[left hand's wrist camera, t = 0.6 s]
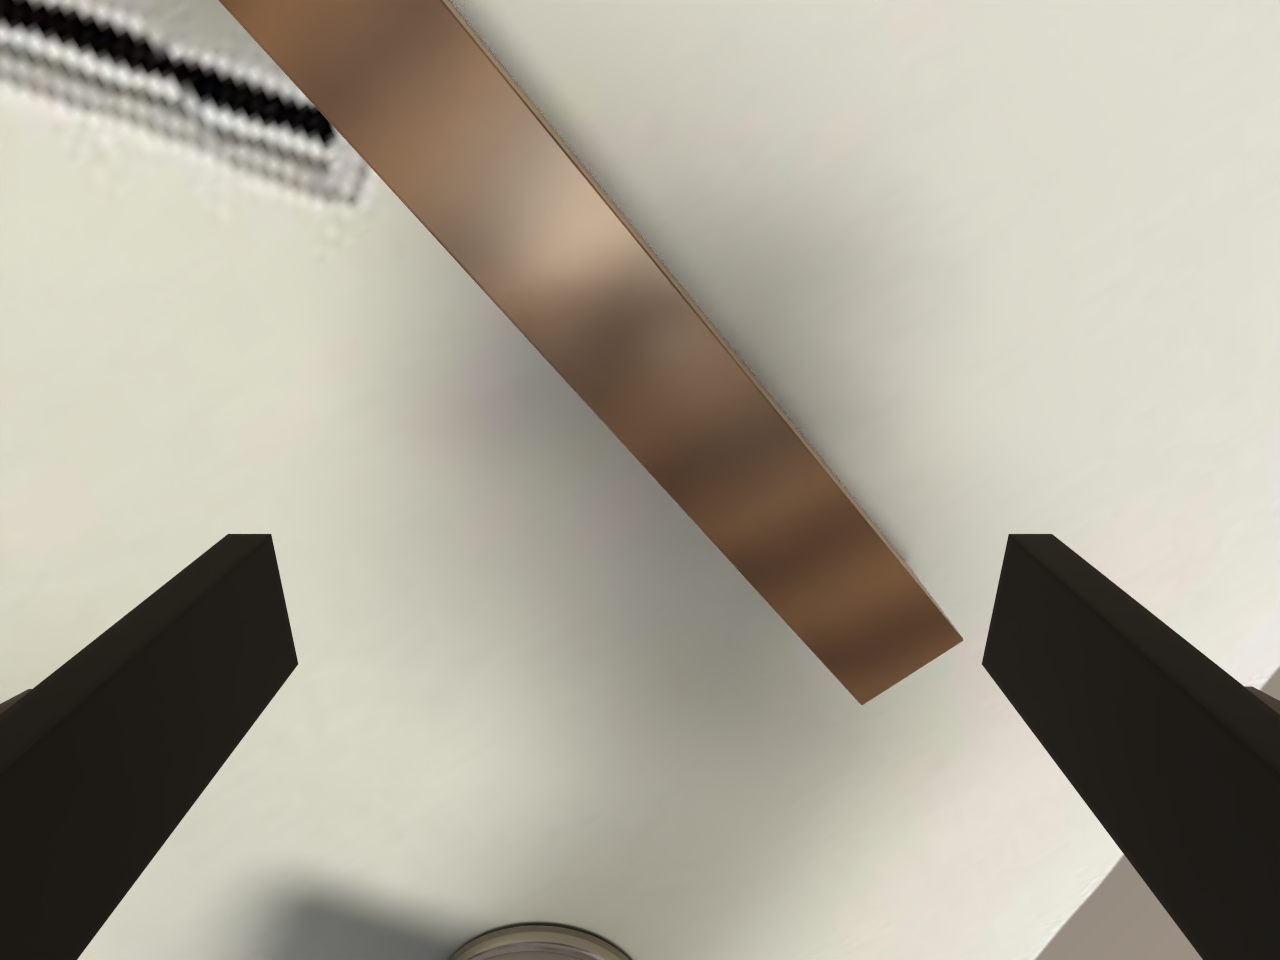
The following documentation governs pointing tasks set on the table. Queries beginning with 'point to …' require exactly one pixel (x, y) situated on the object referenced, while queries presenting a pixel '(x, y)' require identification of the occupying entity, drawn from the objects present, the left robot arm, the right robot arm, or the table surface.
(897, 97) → the table surface
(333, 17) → the beam
